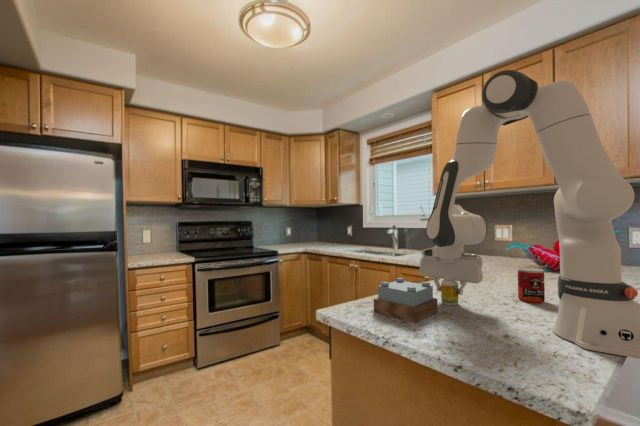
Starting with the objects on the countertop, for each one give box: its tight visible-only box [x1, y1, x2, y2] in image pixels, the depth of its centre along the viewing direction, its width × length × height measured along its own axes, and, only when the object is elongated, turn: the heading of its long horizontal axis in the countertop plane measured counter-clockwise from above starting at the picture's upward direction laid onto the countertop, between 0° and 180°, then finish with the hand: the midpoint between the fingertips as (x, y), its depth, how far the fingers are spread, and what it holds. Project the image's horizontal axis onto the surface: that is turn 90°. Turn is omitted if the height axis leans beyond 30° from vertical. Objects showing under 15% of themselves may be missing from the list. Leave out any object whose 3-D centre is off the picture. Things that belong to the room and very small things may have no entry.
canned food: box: [517, 267, 546, 304], centre depth 105 cm, size 8×8×11 cm
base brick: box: [373, 297, 439, 324], centre depth 93 cm, size 14×14×4 cm
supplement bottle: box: [440, 276, 459, 306], centre depth 102 cm, size 5×5×10 cm
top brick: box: [377, 277, 434, 307], centre depth 93 cm, size 12×12×5 cm
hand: (449, 292), depth 102 cm, fingers closed on supplement bottle, 5 cm apart
